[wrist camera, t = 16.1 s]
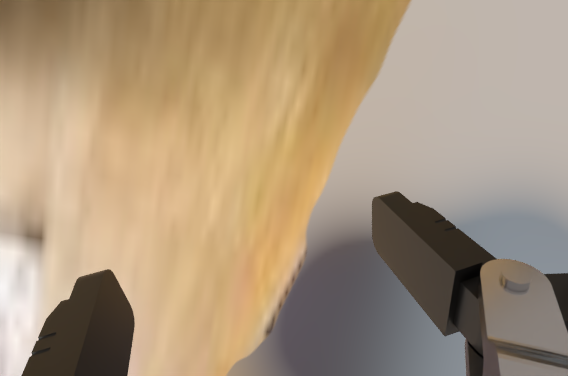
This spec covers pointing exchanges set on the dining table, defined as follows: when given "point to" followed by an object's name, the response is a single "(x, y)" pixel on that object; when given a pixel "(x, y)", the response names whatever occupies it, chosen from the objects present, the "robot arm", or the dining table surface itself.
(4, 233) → the dining table surface
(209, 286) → the dining table surface
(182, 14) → the dining table surface
